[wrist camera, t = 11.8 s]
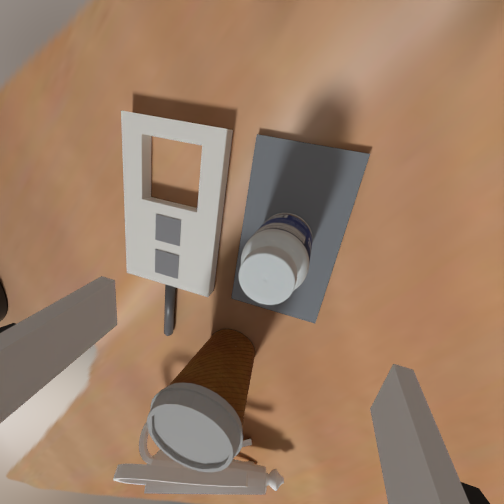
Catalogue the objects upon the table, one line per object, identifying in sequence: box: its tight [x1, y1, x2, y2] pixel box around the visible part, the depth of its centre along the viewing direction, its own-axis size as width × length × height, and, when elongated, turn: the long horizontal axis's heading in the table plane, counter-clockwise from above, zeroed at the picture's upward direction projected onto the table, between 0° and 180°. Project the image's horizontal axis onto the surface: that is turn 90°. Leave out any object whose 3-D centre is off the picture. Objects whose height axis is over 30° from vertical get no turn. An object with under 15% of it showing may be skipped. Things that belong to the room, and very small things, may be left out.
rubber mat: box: [232, 134, 370, 323], centre depth 26 cm, size 10×18×1 cm, turn 171°
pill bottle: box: [239, 213, 312, 305], centre depth 22 cm, size 5×5×10 cm
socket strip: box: [121, 111, 233, 336], centre depth 30 cm, size 27×11×2 cm, turn 171°
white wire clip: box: [113, 422, 284, 494], centre depth 39 cm, size 17×9×22 cm
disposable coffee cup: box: [147, 329, 255, 472], centre depth 29 cm, size 10×10×12 cm
